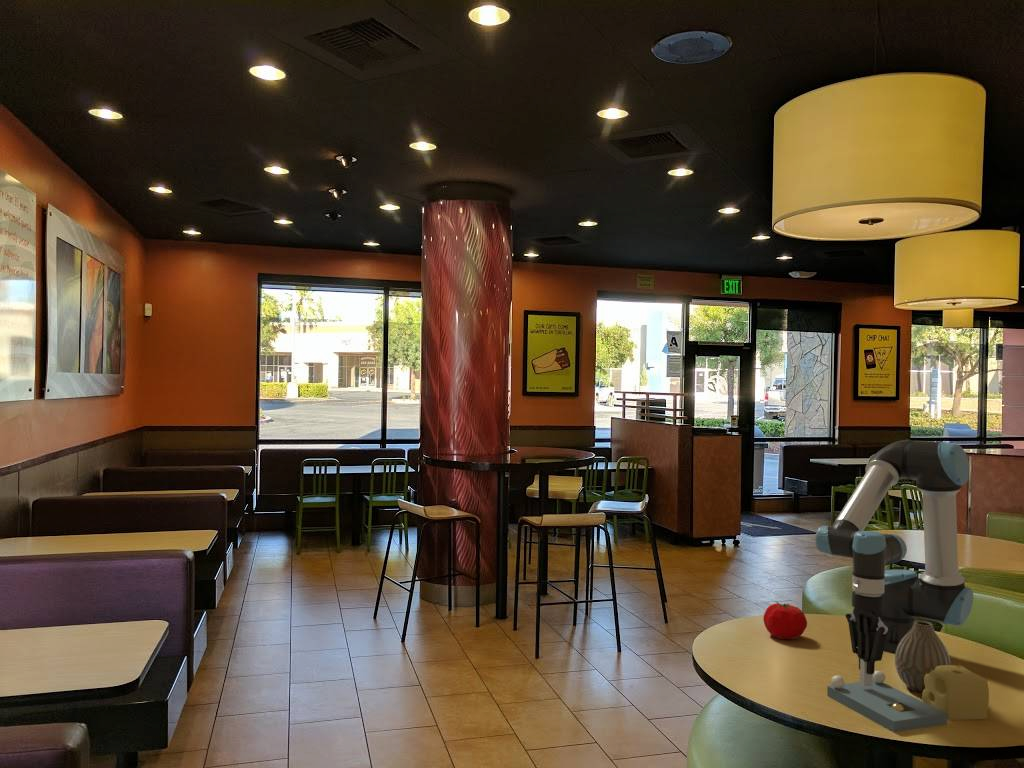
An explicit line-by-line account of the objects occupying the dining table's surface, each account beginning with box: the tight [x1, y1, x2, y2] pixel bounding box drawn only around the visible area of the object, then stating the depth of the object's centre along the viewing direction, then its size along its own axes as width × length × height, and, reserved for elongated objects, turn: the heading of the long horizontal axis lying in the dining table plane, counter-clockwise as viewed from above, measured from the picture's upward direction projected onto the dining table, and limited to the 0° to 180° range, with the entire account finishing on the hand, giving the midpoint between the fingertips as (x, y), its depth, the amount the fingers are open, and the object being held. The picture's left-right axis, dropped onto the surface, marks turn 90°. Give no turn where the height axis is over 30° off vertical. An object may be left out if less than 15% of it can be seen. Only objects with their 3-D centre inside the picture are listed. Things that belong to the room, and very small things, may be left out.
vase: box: [894, 620, 952, 694], centre depth 209 cm, size 13×13×18 cm
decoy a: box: [873, 670, 886, 684], centre depth 206 cm, size 3×3×3 cm
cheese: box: [921, 664, 990, 721], centre depth 194 cm, size 10×11×10 cm
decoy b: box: [830, 674, 846, 689], centre depth 202 cm, size 3×3×3 cm
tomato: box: [762, 600, 808, 640], centre depth 250 cm, size 13×12×11 cm
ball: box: [891, 703, 905, 712], centre depth 191 cm, size 3×3×3 cm
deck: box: [826, 681, 948, 733], centre depth 195 cm, size 16×22×2 cm
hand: (866, 684), depth 201 cm, fingers closed
